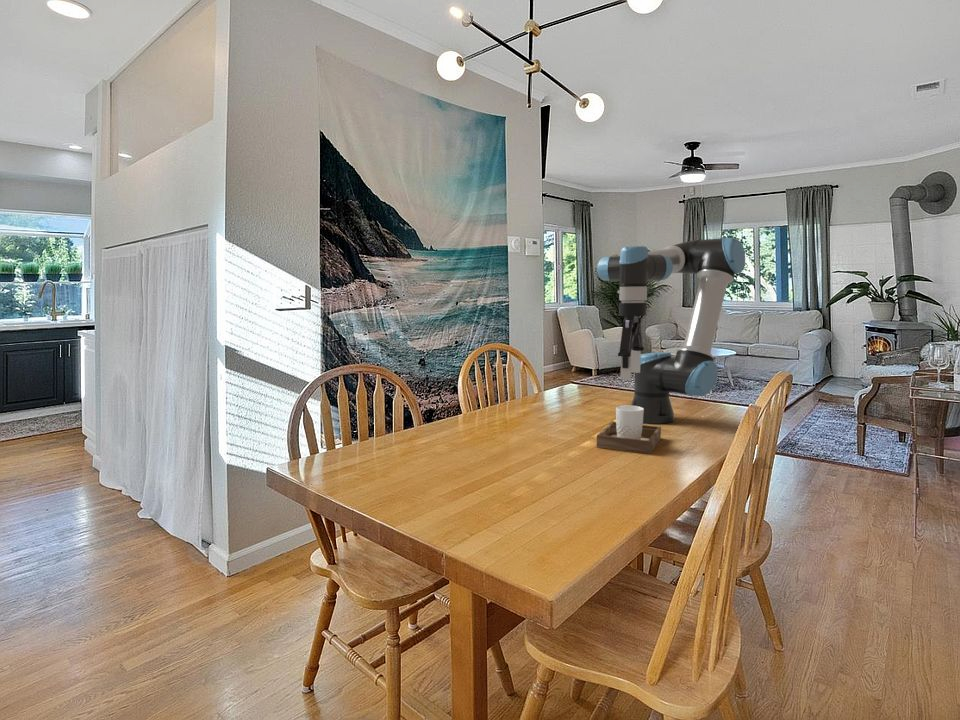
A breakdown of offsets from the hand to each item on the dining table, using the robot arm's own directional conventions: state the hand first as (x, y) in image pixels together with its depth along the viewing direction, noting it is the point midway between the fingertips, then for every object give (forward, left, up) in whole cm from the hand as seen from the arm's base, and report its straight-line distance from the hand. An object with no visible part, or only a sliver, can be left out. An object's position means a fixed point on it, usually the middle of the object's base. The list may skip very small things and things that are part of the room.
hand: (630, 376), depth 163 cm
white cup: (0, 0, -20) cm, 20 cm away
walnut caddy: (-2, 0, -20) cm, 20 cm away
